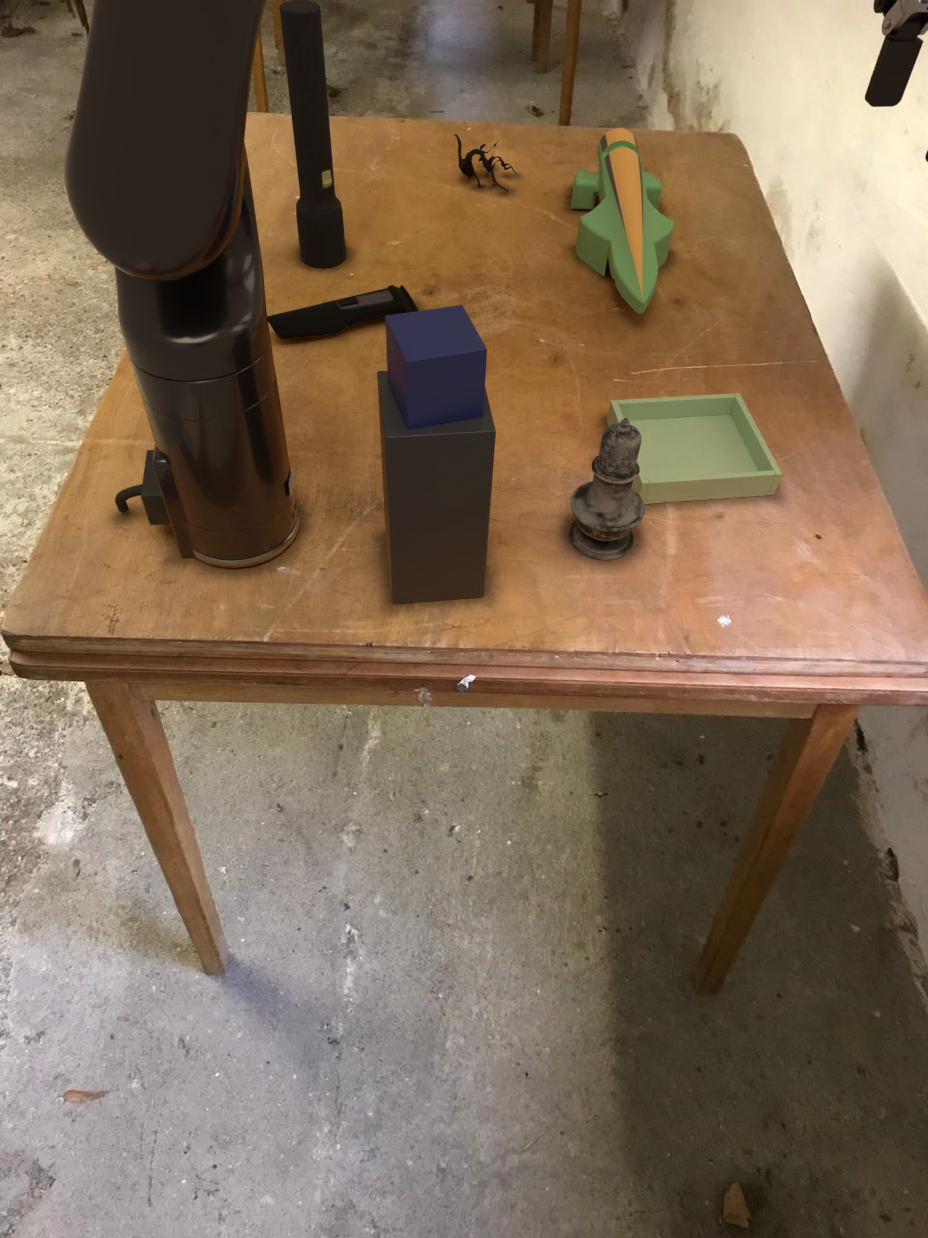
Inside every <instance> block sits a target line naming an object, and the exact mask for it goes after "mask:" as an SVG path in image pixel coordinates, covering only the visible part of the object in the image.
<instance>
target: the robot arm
mask: <svg viewBox="0 0 928 1238" xmlns="http://www.w3.org/2000/svg"><path fill="white" fill-rule="evenodd" d="M267 1H268V0H92V7H91V16H90V23H89V28H88V29H89V30H88V36H87V41H86V49H85V55H84V60H83V61H84V62H83V67H82V73H81V79H80V85H79V90H78V95H77V100H76V107H75V110H74V115H73V121H72V127H71V130H70V133H69V136H68V139H67V141H66V147H65V152H64V158H63V180H64V187H65V192H66V195H67V199H68V200H67V201H68V203H69V205H70V208H71V210H72V213H73V215H74V218H75V221H76V223H77V225H78V226H79V228H80V230H81V231H82V233H83V234H84V236H85V238H86V239H87V240H88V242H89V243H90V245H92V246H93V248H94V249H95V250H96V251H97V253H98V254H99V255H101V256H102V257H103V259H105V260H106V261H107V262H109V264H111V265H112V266H113V268H114V275H115V285H116V286H115V287H116V299H117V301H116V302H117V315H118V322H119V326H120V331H121V335H122V337H123V341H124V345H125V348H126V351H127V354H128V357H129V361H130V365H131V367H132V371H133V374H134V377H135V381H136V384H137V387H138V390H139V394H140V397H141V400H142V405H143V407H144V411H145V414H146V417H147V421H148V424H149V428H150V431H151V434H152V438H153V441H154V449H147V450H146V454H145V461H144V468H143V474H142V475H143V476H142V483H141V484H137V485H133V486H129V487H126V488H124V489H121V490H120V491H119V492H118V493H117V494H116V495H115V497H114V503H115V505H116V507H117V509H118V512H120V513H121V514H124V513H127V512H129V509H130V508H129V506H128V503H127V501H128V500H129V499H132V498H136V497H140V499H141V501H142V504H143V509H144V510H145V514H146V518H147V521H148V523H149V525H150V526H162V525H163V526H165V525H170V527H171V529H172V532H173V535H174V539H175V543H176V545H177V549H178V553H179V555H180V557H182V558H189V557H190V558H196V559H197V560H199V561H201V562H203V563H205V564H208V565H211V566H214V567H221V568H229V569H230V568H231V569H233V568H234V569H236V568H246V567H251V566H256V565H259V564H263V563H265V562H267V561H269V560H271V559H274V558H275V557H277V556H278V555H280V554H281V553H283V552H285V551H286V549H288V548H289V546H290V545H291V544H292V543H293V542H294V541H295V539H296V537H297V535H298V532H299V529H300V521H301V520H300V514H299V513H300V512H299V508H298V505H297V497H296V494H295V489H294V487H295V482H296V478H297V477H296V476H297V475H296V469H295V463H294V461H293V463H292V466H291V462H290V455H289V449H288V442H287V436H286V431H285V424H284V417H283V411H282V403H281V397H280V391H279V385H278V377H277V372H276V365H275V359H274V358H275V357H274V353H273V352H274V351H273V345H272V338H271V333H270V326H269V322H268V319H267V316H268V311H267V298H266V287H265V276H264V275H265V274H264V265H263V258H262V257H263V256H262V251H261V245H260V237H259V230H258V222H257V216H256V215H257V214H256V207H255V202H254V200H255V199H254V192H253V186H252V179H251V172H250V166H249V159H248V154H247V148H246V143H245V139H246V138H245V137H246V127H247V117H248V116H247V115H248V108H249V100H250V99H249V98H250V91H251V81H252V73H253V68H254V60H255V56H256V55H255V54H256V47H257V43H258V38H259V33H260V27H261V23H262V19H263V15H264V12H265V8H266V4H267ZM872 7H873V12H874V13H875V14H882V16H883V20H882V23H881V33H882V35H883V36H884V39H883V41H882V44H881V47H880V51H879V53H878V56H877V59H876V62H875V65H874V67H873V71H872V73H871V76H870V79H869V82H868V85H867V88H866V91H865V93H864V100H865V102H866V103H867V104H868V105H869V106H870V107H872V108H887V107H888V108H891V107H896V106H897V105H899V103H900V102H901V101H902V99H903V97H904V94H905V92H906V89H907V87H908V84H909V81H910V78H911V75H912V74H913V70H914V68H915V65H916V62H917V60H918V57H919V55H920V52H921V49H922V47H923V44H924V40H923V39H922V38H921V37H919V36H923V35H925V34H926V33H927V32H928V0H873V6H872ZM924 159H925V161H926V162H927V163H928V149H927V150H926V152H925V156H924Z"/></svg>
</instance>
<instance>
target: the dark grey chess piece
mask: <svg viewBox="0 0 928 1238" xmlns="http://www.w3.org/2000/svg"><path fill="white" fill-rule="evenodd" d="M640 445H641V434H640V432H639V431H638V430H637V428H635V427H634V426H632V425H630V421H629V420H628V419H627V418H624V419H623V420H621V421H620V423H614V424H612V425H610V426H608V425H607V427H606V428H605V429H604V430H603V433H602V435H601V439H600V446H599V451H598V455H596V456H595V457H594V458H593V460H592V461H591V470H592V474H593V478H592V480H590V481H586V482H584V483H582V484H580V485H579V486H577V487H576V488H575V490H574V491H573V492H572V494H571V496H570V502H569V503H570V509H571V512H572V514H573V517H574V520H573V521H572V522H571V525H570V527H569V530H568V538H569V542H570V543H571V544H572V546H573V548H574V549H575V550H576V551H578V552H579V553H580V554H582V555H583V556H585V557H587V558H591V559H594V560H600V561H611V560H616V559H619V558H621V557H623V556H625V555H627V553H629V552H630V551H631V549H632V548H633V545H634V534H633V530H634V529H635V528H636V527H637V526H638V525H639V523H641V521H643V518H644V517H645V514H646V504H644V502H643V499H642V498H641V496H640V495H639V494H638V493H637V492H636V491H635V490H634V489H633V488H632V484H633V480H635V479H636V478H637V477H638V475H639V472H640V468H639V465H638V463H637V458H638V454H639V450H640Z"/></svg>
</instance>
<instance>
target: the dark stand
mask: <svg viewBox="0 0 928 1238" xmlns="http://www.w3.org/2000/svg"><path fill="white" fill-rule="evenodd" d="M376 376H377V377H376V378H377V397H378V415H379V418H378V419H379V437H380V438H379V439H380V456H381V457H380V458H381V476H382V494H383V495H382V497H383V515H384V516H383V517H384V535H385V548H386V556H387V564H388V574H389V582H390V583H389V584H390V592H391V601H392V605H400V604H412V603H426V602H437V601H438V602H439V601H449V600H462V599H476V598H483V597H484V596H485V585H486V571H487V557H488V544H489V530H490V516H491V505H492V489H493V479H494V466H495V465H494V463H495V449H496V439H497V437H496V436H497V430H496V425H495V422H494V417H493V413H492V408H491V405H490V401H489V396H488V392H487V388H486V387H485V394H484V410H483V417H478V418H472V419H466V420H461V421H455V422H449V423H443V424H438V425H432V426H426V427H420V428H415V429H409V430H408V429H407V426H406V424H405V422H404V419H403V417H402V415H401V412H400V410H399V408H398V405H397V403H396V401H395V398H394V396H393V394H392V391H391V389H390V387H389V384H388V372H387V370H377V372H376Z"/></svg>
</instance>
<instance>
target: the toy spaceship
mask: <svg viewBox="0 0 928 1238" xmlns="http://www.w3.org/2000/svg"><path fill="white" fill-rule="evenodd" d="M596 153H597V158H598V168H597V171H596V172H595V173H591V172H590V171H589V170H587V169H585V168H581V169H579V170H577V172H576V173H575V175H574V177H573V184H572V191H571V200H570V209H571V210H585V211H586V210H587V211H589V212H587V213H585V214H583V215H581V216H580V217H579V219H578V227H577V233H576V234H577V235H576V242H575V249H574V250H575V253H576V256H577V257H578V258H579V259H580V260H581V261H582V262H584V263H585V264H586V265H587V266H588V267H590V268H591V269H593V270H594V271H595V272H597V273H598V274H599V275H601V276H602V277H603V278H604V277H605V274H606V269H607V263H608V266H609V272H610V276H611V278H612V279H611V280H614V286H615V288H616V290H617V291H618V293H619V295H620V296H621V297H622V298H623V300H624V301H625V302H626V303H627V304H628V306H629V307H630V308H631V309H633V310H634V311H635V313H637V314H640V315H642V314H644V312H646V310H647V308H648V307H649V305H650V303H651V301H652V300H653V297H654V295H655V292H656V291H655V290H656V287H657V286H656V285H657V280H658V277H659V276H658V274H659V269H660V268H661V267H662V266H663V265H664V264H665V263H666V261H667V259H668V254H669V250H670V246H671V242H672V241H671V240H672V237H673V232H674V229H675V228H674V227H675V221H674V220H673V219H672V218H669V217H667V216H665V215H664V214H662V213H661V212H660V211H659V208H660V202H661V198H662V193H663V184H662V183H661V181H660V179H659V178H658V177H657V176H655V175H653V174H652V173H650V172H648V171H644V168H643V163H642V158H641V155H640V151H639V146H638V141H637V138H636V135H634V134H633V132H631V131H630V130H628V129H627V128H623V127H616V128H612V129H610V130H608V131H606V132H605V133H604V134H603V135H602V136H601V138H600V140H599V142H598V143H597V152H596ZM597 193H598V199H599V203H598V204H597V206H595V205H596V199H597Z"/></svg>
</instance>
